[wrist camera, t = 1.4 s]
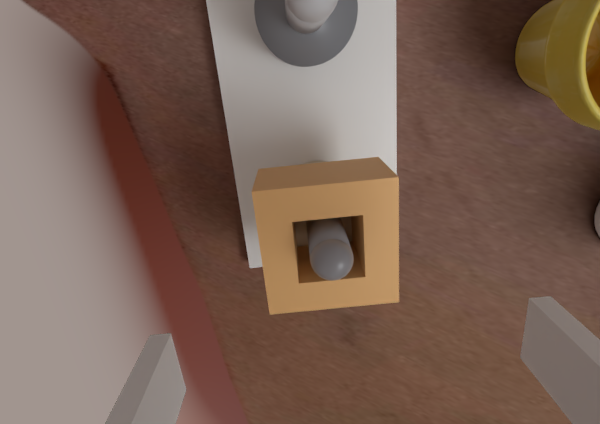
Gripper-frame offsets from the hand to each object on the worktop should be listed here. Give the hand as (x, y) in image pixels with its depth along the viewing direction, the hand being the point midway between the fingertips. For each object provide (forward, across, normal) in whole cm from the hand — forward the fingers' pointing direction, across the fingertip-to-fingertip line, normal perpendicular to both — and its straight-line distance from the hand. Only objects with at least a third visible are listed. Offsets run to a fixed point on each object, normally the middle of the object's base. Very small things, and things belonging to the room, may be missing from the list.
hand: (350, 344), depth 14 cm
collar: (+13, 0, 0) cm, 13 cm away
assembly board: (+19, 0, -6) cm, 20 cm away
